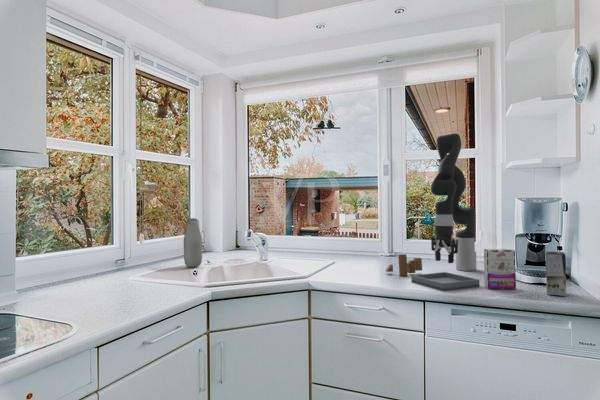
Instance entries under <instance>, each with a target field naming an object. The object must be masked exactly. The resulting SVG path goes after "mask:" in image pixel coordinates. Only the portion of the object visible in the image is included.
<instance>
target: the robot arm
mask: <svg viewBox="0 0 600 400" xmlns="http://www.w3.org/2000/svg"><path fill="white" fill-rule="evenodd" d="M461 139H462V138H461V136H460V135H459V134H458V133H449V134H444V135H443V134H442V135H439V136H437V137H436V141H435V143H436V148H437V152H438V155H439V159H440V163H439V165H438V167H437V168H438V169H437V173H436V176H435V177H434V179H433V180H432V183H431V185H430V191H431V194H433V196H435V197H436V196H438V197H439V196H444V197H445V196H447V197H446V199H444V200H439V201H437V202H436V203H435V217H434V235H435V236H433V237H431V238H430V240H431V241H430V242H431V251H432V252H434V257H435V261H436V262H440V261H441V257H442V255H441V251H442V249H443V248H444V249H445V250H446V252H447V263H448V264H454V261H455V268H456V270H458V271H463V272H465V271H467V272H471V271H476V270H477V251H476V249H475V248H476V245H475V241H476V240H475V238H476V237H475V236H476V235H475V234H476V210H475V209H474V208H473V207H470V206H469V207H464V206H463V207H460V199H461V197H462V196H463V194H464V192H465V190H466V187H467V183H466V180H465V179H466V178H465V174H464V173H463V171H462V170H461V169H460V168H459V167H458V166H457V165H456V163H457V162H458V157H459V155H460V152H461V150H462V140H461ZM454 224H455V225H460V226H461V225H462V226H463V225H466V227H465V228H464V229H462V230H458V231H456V233H455V239H454V238H452V237H453V236H454ZM454 257H456V258H454ZM454 259H455V260H454Z"/></svg>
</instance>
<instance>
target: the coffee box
mask: <svg viewBox="0 0 600 400" xmlns="http://www.w3.org/2000/svg"><path fill="white" fill-rule="evenodd" d="M566 255H567V254H565V252H564V251H545V270H546V271H545V281H546V283H545V284H546V294H547V295H552V296H562V297H565V296H566V295H567V267H566V266H567V261H566V260H567V259H566V257H567V256H566Z"/></svg>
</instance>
